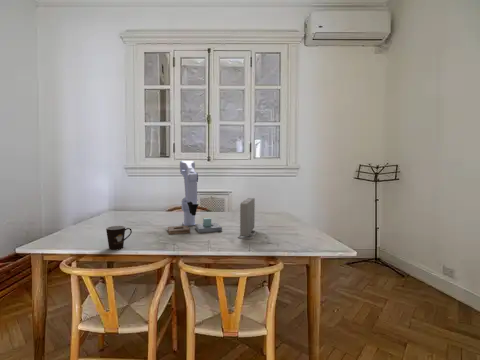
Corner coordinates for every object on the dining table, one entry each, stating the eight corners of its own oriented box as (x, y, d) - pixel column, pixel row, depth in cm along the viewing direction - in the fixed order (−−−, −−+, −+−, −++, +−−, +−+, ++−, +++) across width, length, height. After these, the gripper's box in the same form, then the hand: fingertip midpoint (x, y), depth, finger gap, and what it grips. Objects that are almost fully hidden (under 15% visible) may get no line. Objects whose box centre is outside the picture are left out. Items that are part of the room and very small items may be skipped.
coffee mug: (106, 251, 140) (105, 230, 140) (106, 246, 148) (106, 226, 148) (132, 248, 145) (132, 228, 144) (131, 244, 153) (131, 224, 152)
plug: (203, 229, 187) (203, 218, 186) (210, 229, 188) (210, 217, 188) (204, 230, 184) (204, 219, 183) (211, 230, 185) (211, 218, 185)
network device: (251, 240, 160) (251, 203, 159) (235, 239, 162) (235, 202, 160) (258, 230, 185) (258, 197, 184) (244, 229, 187) (244, 197, 185)
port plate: (195, 228, 191) (195, 224, 191) (216, 226, 195) (216, 222, 195) (198, 232, 177) (198, 228, 177) (221, 231, 182) (221, 227, 181)
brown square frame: (167, 229, 185) (167, 226, 185) (187, 228, 189) (187, 225, 189) (169, 234, 174) (169, 230, 174) (189, 232, 177) (189, 229, 177)
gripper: (184, 191, 191) (184, 212, 192) (187, 193, 177) (187, 216, 178) (195, 191, 193) (195, 212, 194) (199, 193, 180) (199, 216, 180)
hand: (192, 214), depth 186 cm, fingers open, 7 cm apart
